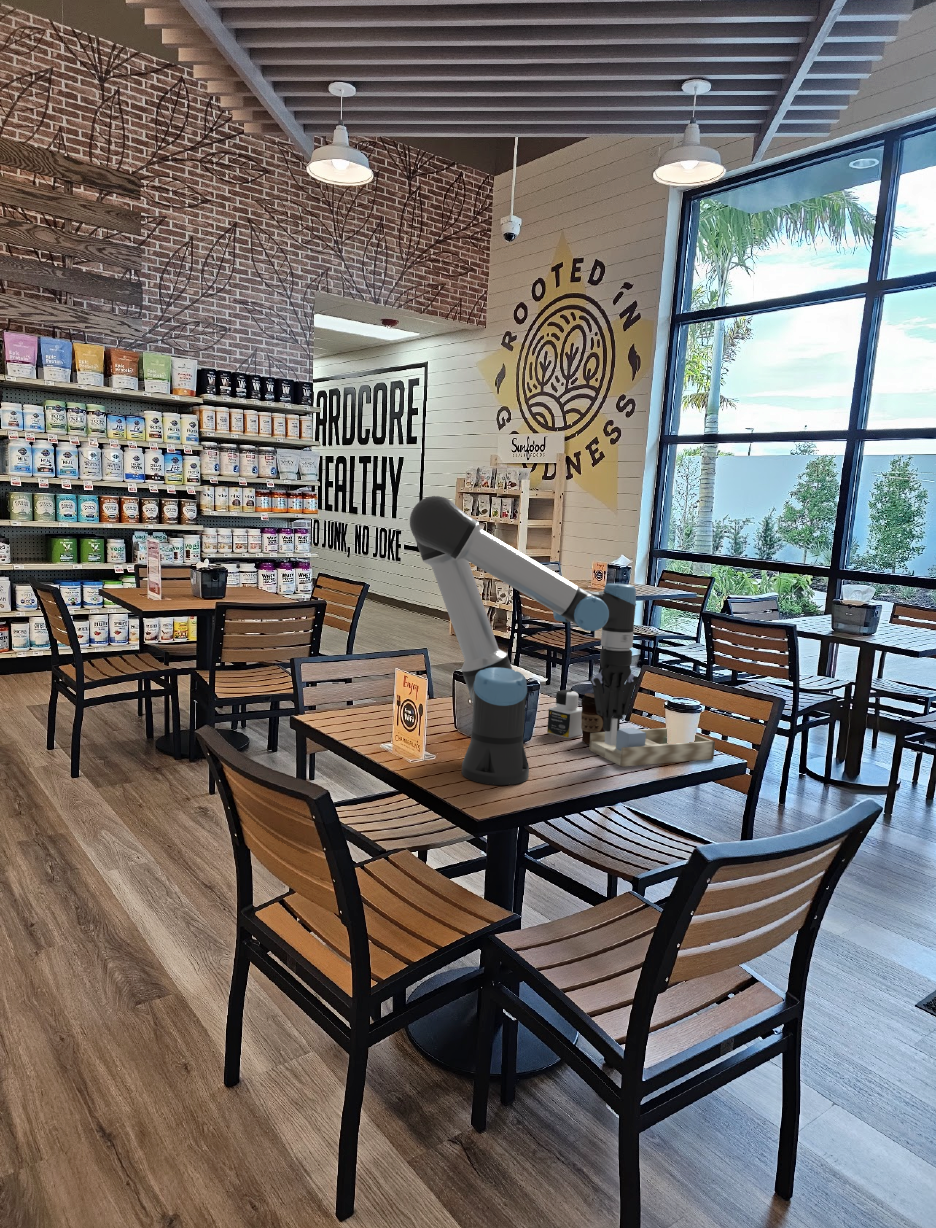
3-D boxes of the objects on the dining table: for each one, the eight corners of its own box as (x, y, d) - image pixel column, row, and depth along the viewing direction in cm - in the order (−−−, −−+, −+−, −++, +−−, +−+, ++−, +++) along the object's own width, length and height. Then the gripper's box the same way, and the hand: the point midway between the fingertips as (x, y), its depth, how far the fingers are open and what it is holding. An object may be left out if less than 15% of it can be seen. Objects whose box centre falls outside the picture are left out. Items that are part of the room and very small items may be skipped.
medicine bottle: (546, 733, 218) (549, 690, 217) (561, 729, 223) (564, 687, 222) (568, 739, 213) (571, 695, 212) (582, 734, 219) (585, 692, 217)
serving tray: (622, 766, 190) (623, 748, 190) (589, 750, 204) (590, 732, 203) (713, 758, 202) (715, 741, 201) (676, 743, 215) (678, 727, 214)
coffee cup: (600, 749, 205) (603, 700, 203) (572, 742, 210) (575, 694, 208) (615, 743, 212) (619, 695, 210) (587, 737, 216) (591, 690, 215)
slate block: (627, 754, 193) (629, 734, 192) (615, 748, 197) (617, 728, 197) (644, 752, 195) (646, 732, 194) (632, 747, 199) (633, 727, 199)
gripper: (602, 651, 184) (595, 750, 187) (648, 650, 190) (641, 746, 192) (585, 646, 191) (579, 741, 194) (629, 645, 196) (623, 738, 199)
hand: (610, 743), depth 193 cm, fingers closed
